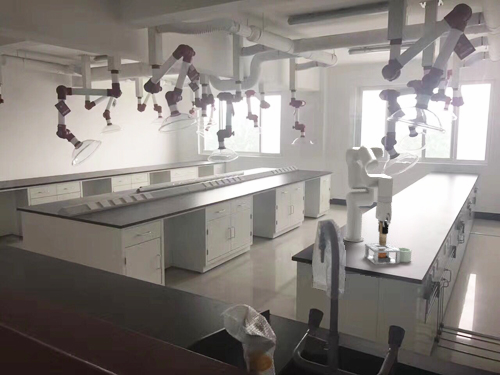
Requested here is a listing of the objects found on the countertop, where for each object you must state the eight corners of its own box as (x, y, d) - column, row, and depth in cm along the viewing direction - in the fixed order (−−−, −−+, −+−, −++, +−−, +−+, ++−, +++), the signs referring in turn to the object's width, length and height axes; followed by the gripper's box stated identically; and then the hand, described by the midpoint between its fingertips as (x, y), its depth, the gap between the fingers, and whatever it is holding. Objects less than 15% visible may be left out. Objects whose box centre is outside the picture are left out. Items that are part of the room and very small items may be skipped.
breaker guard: (364, 256, 225) (364, 243, 224) (388, 255, 226) (388, 242, 225) (374, 264, 211) (375, 251, 210) (399, 263, 213) (400, 250, 212)
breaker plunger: (375, 255, 221) (376, 250, 220) (383, 255, 221) (384, 250, 221) (379, 258, 216) (379, 252, 216) (387, 257, 217) (387, 252, 216)
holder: (394, 258, 221) (394, 247, 220) (406, 257, 222) (406, 247, 221) (400, 262, 214) (400, 251, 213) (412, 262, 215) (413, 251, 214)
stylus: (377, 243, 219) (378, 220, 217) (384, 243, 219) (385, 220, 218) (380, 245, 215) (381, 222, 214) (387, 245, 216) (388, 221, 214)
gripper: (371, 197, 222) (370, 229, 224) (384, 202, 205) (383, 236, 208) (384, 196, 223) (382, 229, 225) (398, 201, 206) (396, 236, 209)
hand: (383, 232), depth 216 cm, fingers closed on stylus, 3 cm apart
